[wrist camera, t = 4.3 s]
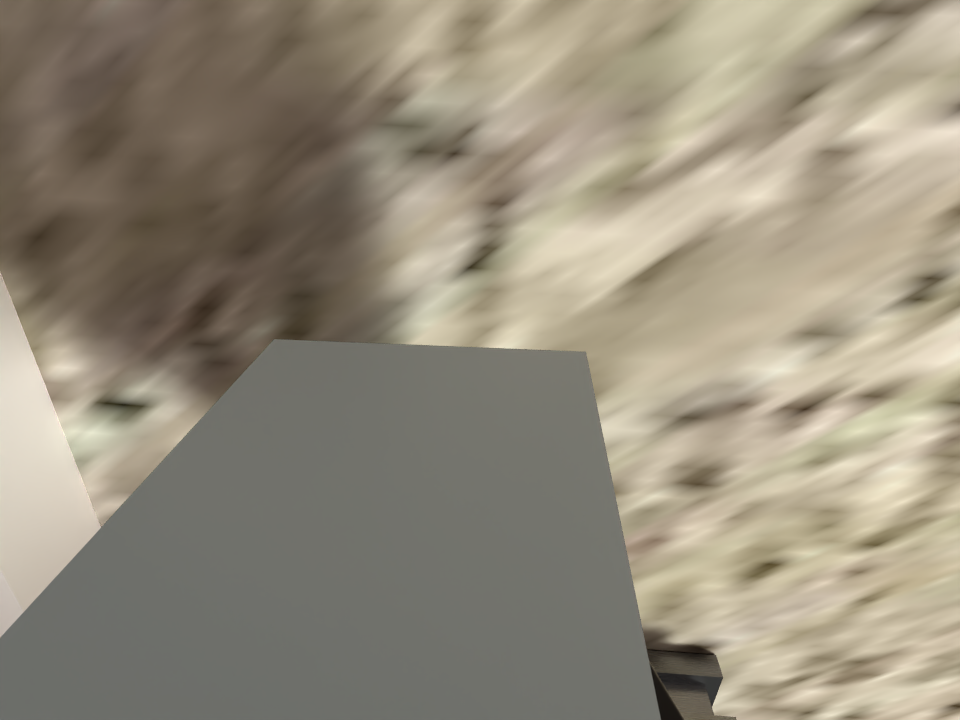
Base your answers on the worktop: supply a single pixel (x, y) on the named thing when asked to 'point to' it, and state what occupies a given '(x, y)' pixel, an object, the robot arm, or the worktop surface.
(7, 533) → the bracket
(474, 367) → the housing
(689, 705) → the stand
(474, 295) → the worktop surface
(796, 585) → the worktop surface
